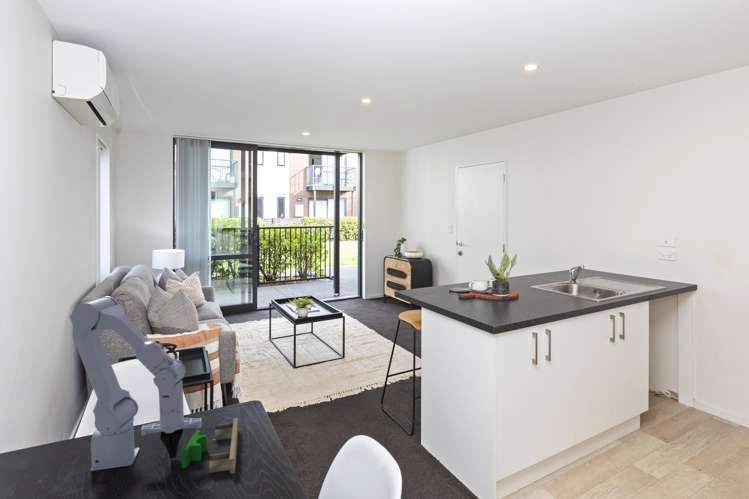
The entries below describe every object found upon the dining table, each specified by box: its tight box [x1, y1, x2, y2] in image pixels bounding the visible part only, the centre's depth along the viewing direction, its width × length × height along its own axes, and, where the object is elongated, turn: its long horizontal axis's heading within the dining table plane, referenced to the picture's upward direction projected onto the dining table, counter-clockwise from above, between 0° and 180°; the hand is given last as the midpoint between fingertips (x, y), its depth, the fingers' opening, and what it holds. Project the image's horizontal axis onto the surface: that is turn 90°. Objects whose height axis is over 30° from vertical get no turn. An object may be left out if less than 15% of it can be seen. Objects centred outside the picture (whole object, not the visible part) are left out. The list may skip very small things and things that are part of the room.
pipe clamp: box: [180, 429, 208, 469], centre depth 113 cm, size 11×4×5 cm, turn 3°
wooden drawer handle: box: [208, 417, 239, 475], centre depth 114 cm, size 6×22×4 cm, turn 16°
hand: (173, 455), depth 111 cm, fingers closed
